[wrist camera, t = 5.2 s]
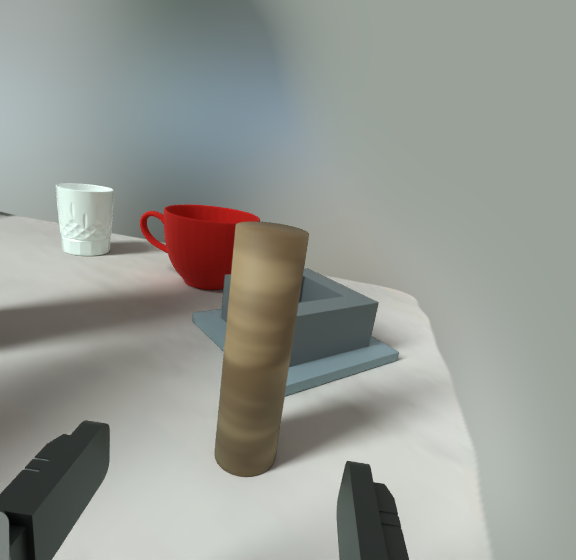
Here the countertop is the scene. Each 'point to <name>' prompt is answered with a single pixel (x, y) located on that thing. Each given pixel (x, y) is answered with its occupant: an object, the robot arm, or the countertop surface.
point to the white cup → (85, 218)
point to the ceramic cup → (199, 241)
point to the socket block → (319, 333)
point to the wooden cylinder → (258, 343)
